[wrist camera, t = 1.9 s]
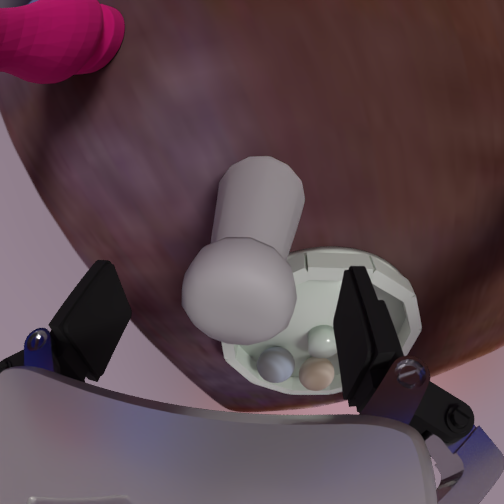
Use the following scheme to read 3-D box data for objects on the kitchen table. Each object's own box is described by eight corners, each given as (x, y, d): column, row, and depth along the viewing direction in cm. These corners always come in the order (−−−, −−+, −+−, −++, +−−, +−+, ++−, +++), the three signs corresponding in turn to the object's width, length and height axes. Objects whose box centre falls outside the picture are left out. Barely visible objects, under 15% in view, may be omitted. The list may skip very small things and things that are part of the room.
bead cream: (334, 349, 29) (339, 371, 25) (329, 374, 30) (333, 397, 26) (299, 349, 29) (301, 372, 25) (296, 374, 30) (297, 397, 27)
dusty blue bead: (301, 344, 27) (282, 366, 24) (301, 372, 28) (283, 395, 25) (268, 336, 29) (247, 355, 26) (270, 363, 30) (251, 383, 27)
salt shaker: (303, 149, 18) (332, 251, 7) (301, 221, 21) (311, 368, 10) (221, 150, 19) (134, 247, 8) (227, 220, 22) (175, 358, 11)
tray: (436, 250, 21) (449, 269, 19) (380, 372, 32) (383, 390, 30) (216, 242, 23) (208, 263, 21) (234, 371, 34) (231, 390, 32)
